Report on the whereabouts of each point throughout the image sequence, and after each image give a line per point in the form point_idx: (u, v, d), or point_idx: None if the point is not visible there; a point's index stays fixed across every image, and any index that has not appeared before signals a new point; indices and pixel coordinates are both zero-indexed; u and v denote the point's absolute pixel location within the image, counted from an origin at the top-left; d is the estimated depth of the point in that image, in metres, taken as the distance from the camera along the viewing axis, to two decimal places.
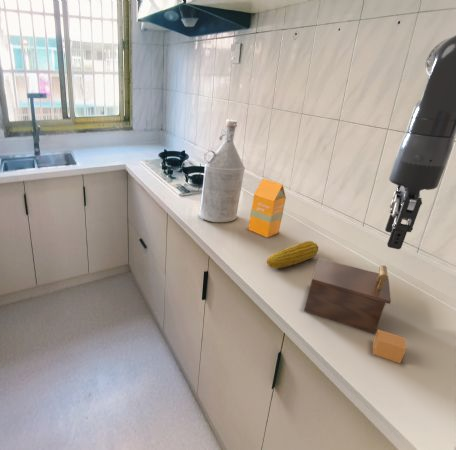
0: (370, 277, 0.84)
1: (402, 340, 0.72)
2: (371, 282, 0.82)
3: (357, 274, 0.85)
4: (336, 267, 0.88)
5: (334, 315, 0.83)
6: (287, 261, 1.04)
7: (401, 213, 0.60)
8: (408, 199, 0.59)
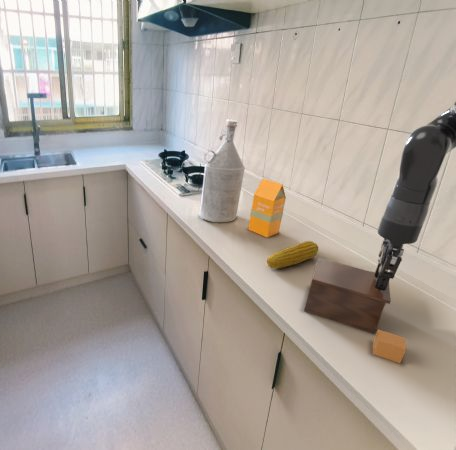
0: (370, 277, 0.84)
1: (402, 340, 0.72)
2: (371, 282, 0.82)
3: (357, 274, 0.85)
4: (336, 267, 0.88)
5: (334, 315, 0.83)
6: (287, 261, 1.04)
7: (385, 266, 0.74)
8: (390, 257, 0.72)
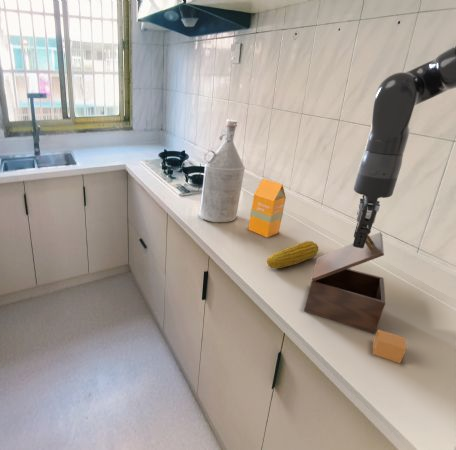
0: None
1: (402, 340, 0.72)
2: (364, 247, 0.80)
3: (351, 249, 0.84)
4: (332, 255, 0.88)
5: (334, 315, 0.83)
6: (287, 261, 1.04)
7: (360, 221, 0.73)
8: (365, 210, 0.72)
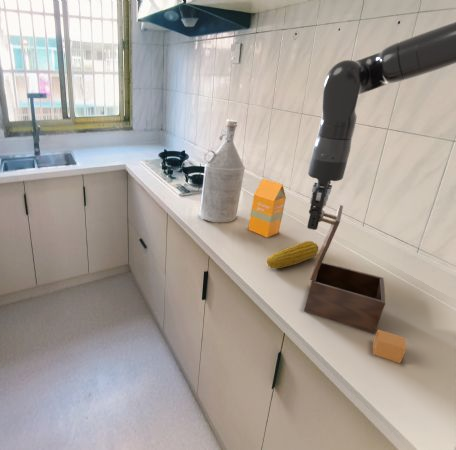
0: None
1: (402, 340, 0.72)
2: (332, 225, 0.82)
3: (328, 233, 0.85)
4: (321, 248, 0.89)
5: (334, 315, 0.83)
6: (287, 261, 1.04)
7: (312, 203, 0.77)
8: (316, 193, 0.75)
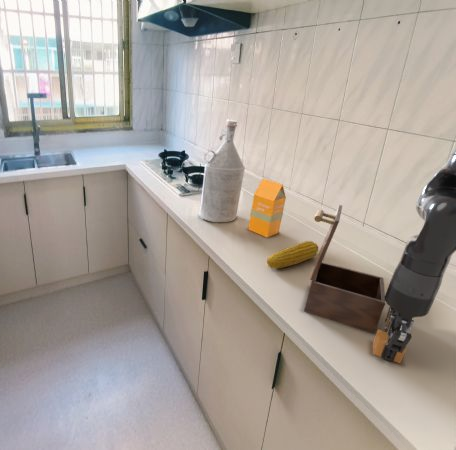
0: None
1: None
2: (331, 225, 0.82)
3: (327, 233, 0.85)
4: (321, 248, 0.89)
5: (334, 315, 0.83)
6: (287, 261, 1.04)
7: (392, 341, 0.67)
8: (399, 333, 0.65)
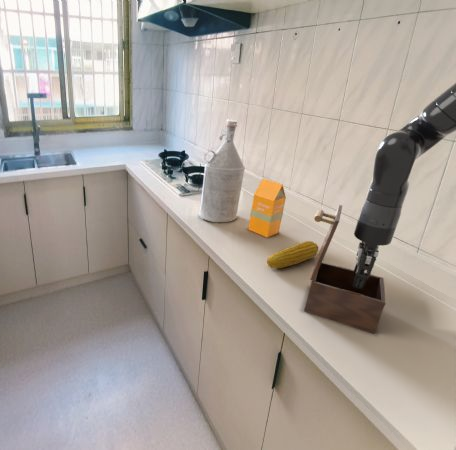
0: None
1: None
2: (331, 225, 0.82)
3: (327, 233, 0.85)
4: (321, 248, 0.89)
5: (334, 315, 0.83)
6: (287, 261, 1.04)
7: (360, 266, 0.76)
8: (365, 256, 0.74)
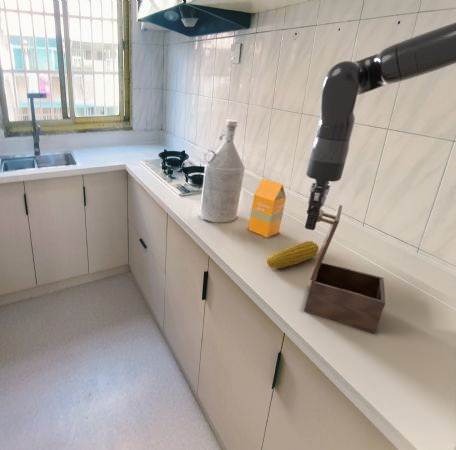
0: None
1: None
2: (331, 225, 0.82)
3: (327, 233, 0.85)
4: (321, 248, 0.89)
5: (334, 315, 0.83)
6: (287, 261, 1.04)
7: (310, 203, 0.77)
8: (313, 193, 0.76)
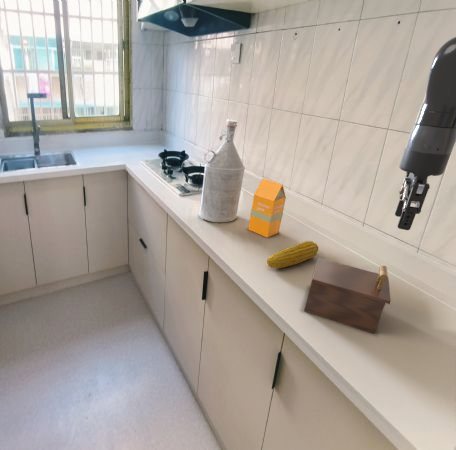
0: (370, 277, 0.84)
1: None
2: (371, 282, 0.82)
3: (357, 275, 0.85)
4: (336, 267, 0.88)
5: (334, 315, 0.83)
6: (287, 261, 1.04)
7: (411, 196, 0.66)
8: (417, 184, 0.66)
